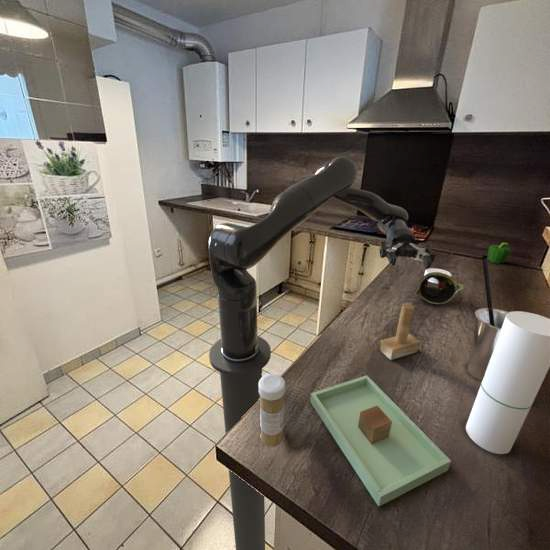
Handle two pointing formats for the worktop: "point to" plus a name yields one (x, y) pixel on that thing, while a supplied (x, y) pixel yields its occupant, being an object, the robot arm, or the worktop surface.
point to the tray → (383, 454)
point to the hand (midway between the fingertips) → (411, 264)
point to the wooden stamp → (401, 336)
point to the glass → (485, 331)
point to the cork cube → (374, 424)
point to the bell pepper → (498, 253)
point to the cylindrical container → (510, 381)
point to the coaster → (436, 271)
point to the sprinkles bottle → (271, 409)
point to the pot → (444, 282)
